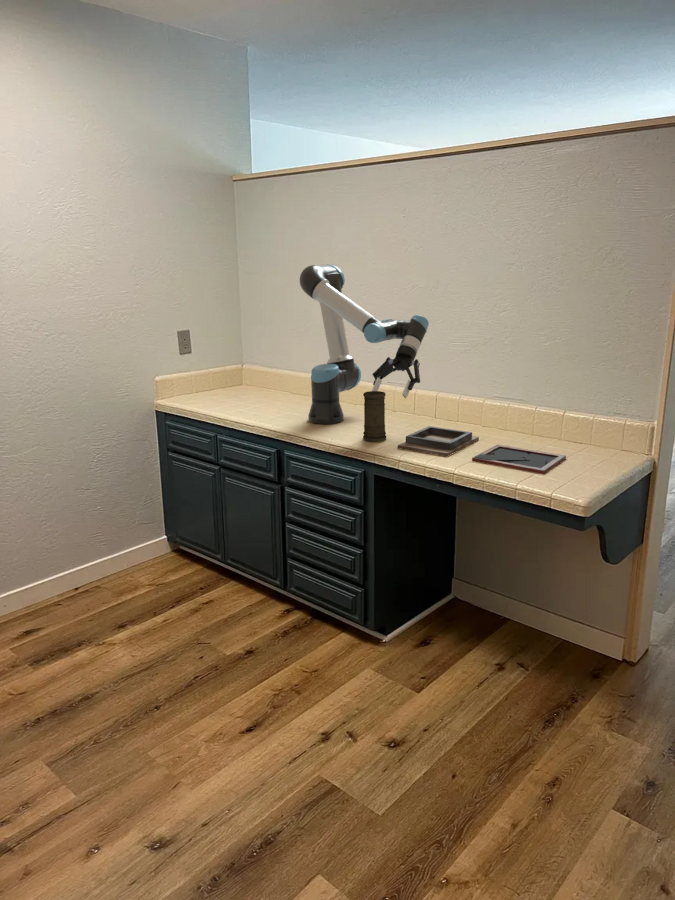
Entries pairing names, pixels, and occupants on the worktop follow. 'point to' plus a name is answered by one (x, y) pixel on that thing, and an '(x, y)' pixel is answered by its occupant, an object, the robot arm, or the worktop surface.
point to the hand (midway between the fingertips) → (388, 394)
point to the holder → (438, 440)
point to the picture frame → (519, 458)
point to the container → (374, 416)
